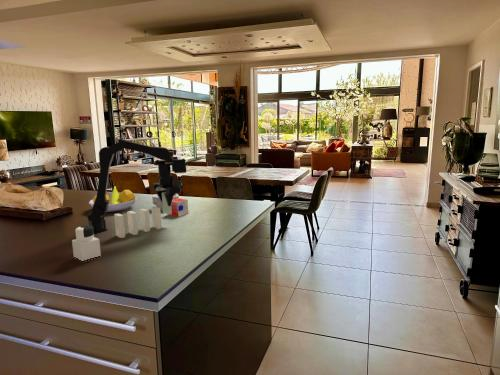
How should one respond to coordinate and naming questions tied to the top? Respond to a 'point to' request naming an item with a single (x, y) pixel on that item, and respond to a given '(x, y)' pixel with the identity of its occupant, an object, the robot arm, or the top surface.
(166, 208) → the tile
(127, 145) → the robot arm
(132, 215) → the tile
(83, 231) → the white block with post
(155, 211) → the tile
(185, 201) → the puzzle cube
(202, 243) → the top surface
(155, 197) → the paper bowls
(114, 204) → the fruit bowl
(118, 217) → the tile
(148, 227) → the tile
